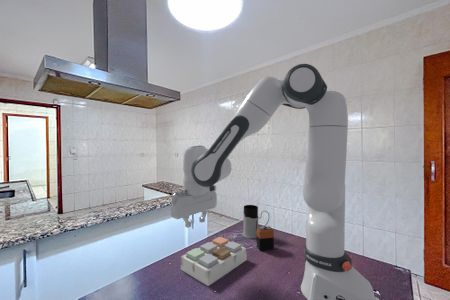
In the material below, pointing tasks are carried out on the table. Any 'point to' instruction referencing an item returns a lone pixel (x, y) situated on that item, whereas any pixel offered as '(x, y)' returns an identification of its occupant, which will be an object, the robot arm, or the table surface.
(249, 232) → the glass holder
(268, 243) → the battery
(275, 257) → the table surface
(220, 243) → the key terracotta
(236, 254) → the keypad
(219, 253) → the key walnut
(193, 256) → the key sage
